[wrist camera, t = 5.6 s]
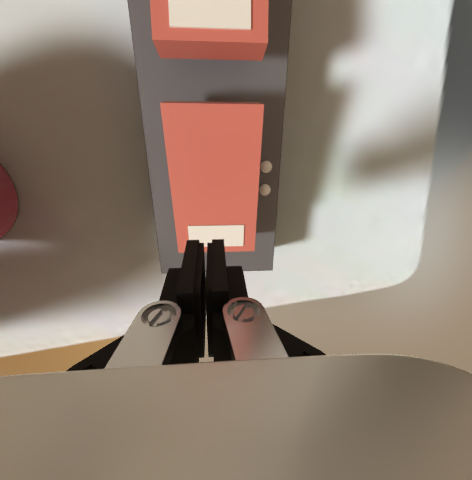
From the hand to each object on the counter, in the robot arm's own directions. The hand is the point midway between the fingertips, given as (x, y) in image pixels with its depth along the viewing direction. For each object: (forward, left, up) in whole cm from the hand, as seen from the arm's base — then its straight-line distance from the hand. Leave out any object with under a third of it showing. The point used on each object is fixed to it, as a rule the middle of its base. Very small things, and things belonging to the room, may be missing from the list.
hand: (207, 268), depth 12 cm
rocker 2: (-3, 0, -6) cm, 6 cm away
